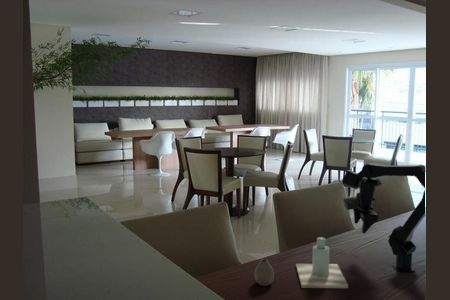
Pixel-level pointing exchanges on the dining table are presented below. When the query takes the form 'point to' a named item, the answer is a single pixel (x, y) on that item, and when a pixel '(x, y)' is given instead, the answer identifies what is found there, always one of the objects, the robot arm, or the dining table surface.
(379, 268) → the dining table surface
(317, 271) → the oil bottle
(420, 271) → the dining table surface
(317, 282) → the birch board
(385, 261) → the dining table surface
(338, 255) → the dining table surface
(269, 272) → the vase
